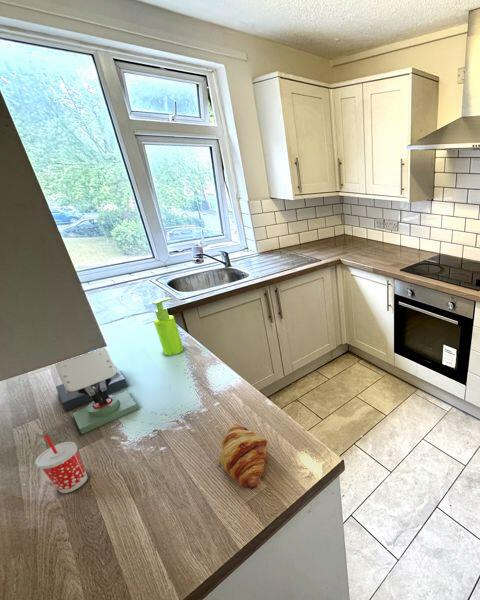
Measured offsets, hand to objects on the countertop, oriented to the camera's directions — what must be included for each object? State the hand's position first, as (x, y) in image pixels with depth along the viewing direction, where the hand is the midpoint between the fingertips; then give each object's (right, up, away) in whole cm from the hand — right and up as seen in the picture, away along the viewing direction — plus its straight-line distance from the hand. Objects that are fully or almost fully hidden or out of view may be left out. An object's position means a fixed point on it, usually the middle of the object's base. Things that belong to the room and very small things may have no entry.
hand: (103, 402), depth 89 cm
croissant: (+45, -10, -12) cm, 47 cm away
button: (0, -2, +1) cm, 2 cm away
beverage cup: (+10, -12, -18) cm, 24 cm away
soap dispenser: (-1, +9, +31) cm, 32 cm away
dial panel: (-12, +1, +10) cm, 16 cm away
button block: (0, -3, +2) cm, 4 cm away
